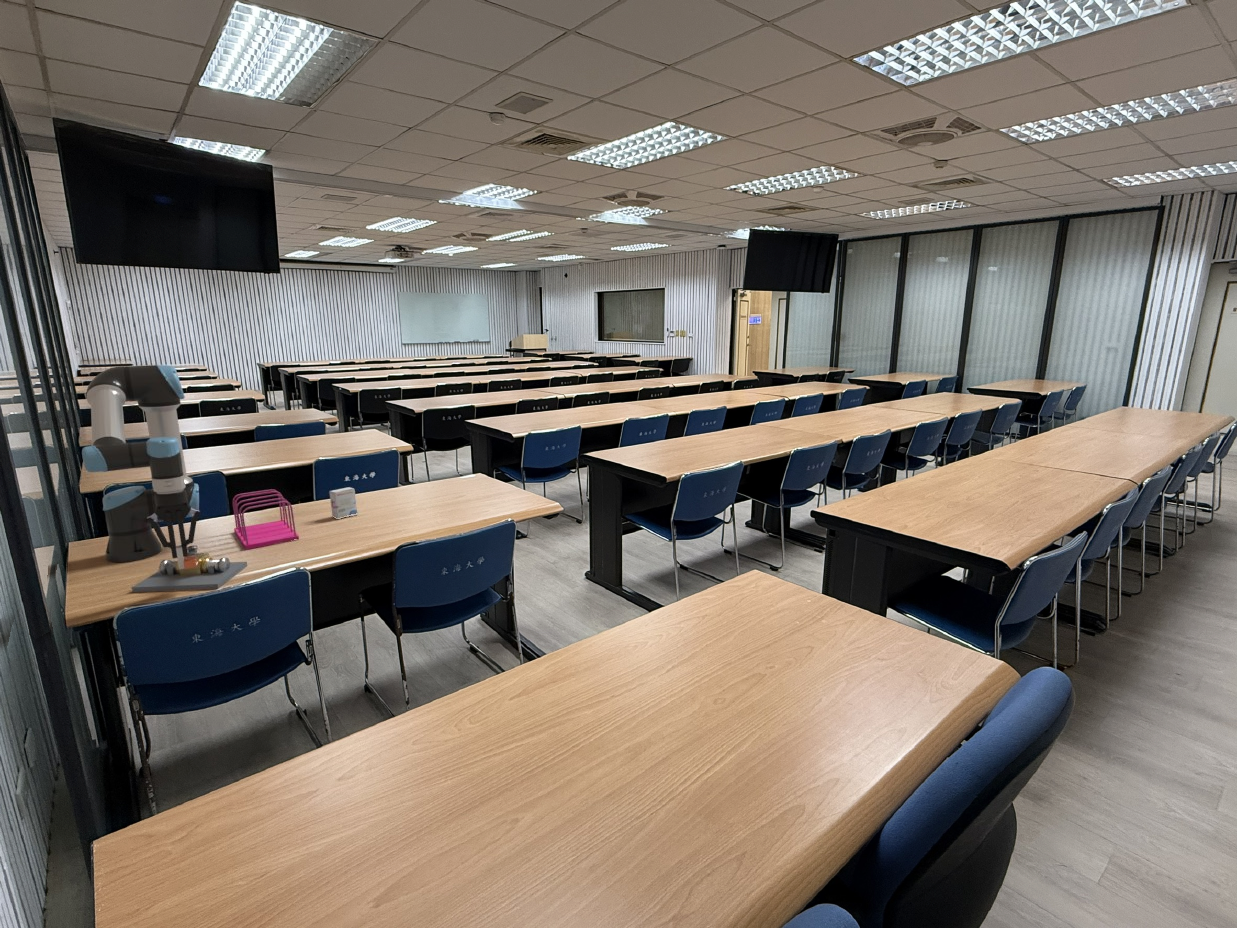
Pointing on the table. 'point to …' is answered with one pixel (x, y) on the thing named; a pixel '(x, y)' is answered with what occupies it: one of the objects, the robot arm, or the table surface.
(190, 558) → the valve lever
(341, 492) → the ink box
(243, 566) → the mounting board
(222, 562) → the valve pipe
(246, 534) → the file sorter
